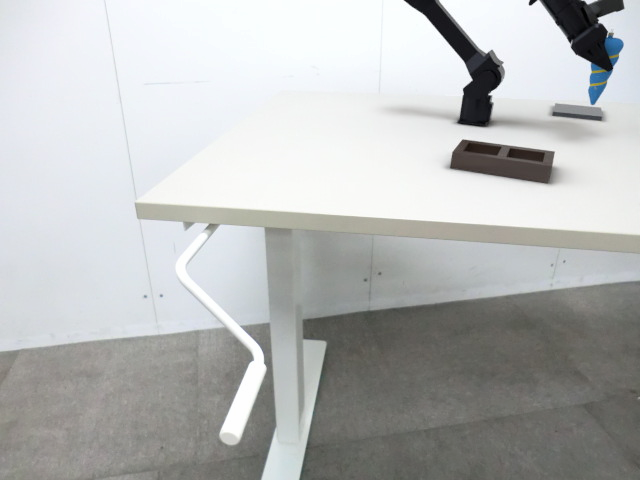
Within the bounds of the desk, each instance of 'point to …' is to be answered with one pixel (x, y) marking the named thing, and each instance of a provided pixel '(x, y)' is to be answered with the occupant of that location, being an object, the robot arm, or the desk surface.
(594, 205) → the desk surface
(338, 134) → the desk surface
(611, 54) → the ornament
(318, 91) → the desk surface
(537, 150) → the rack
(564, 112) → the coaster
